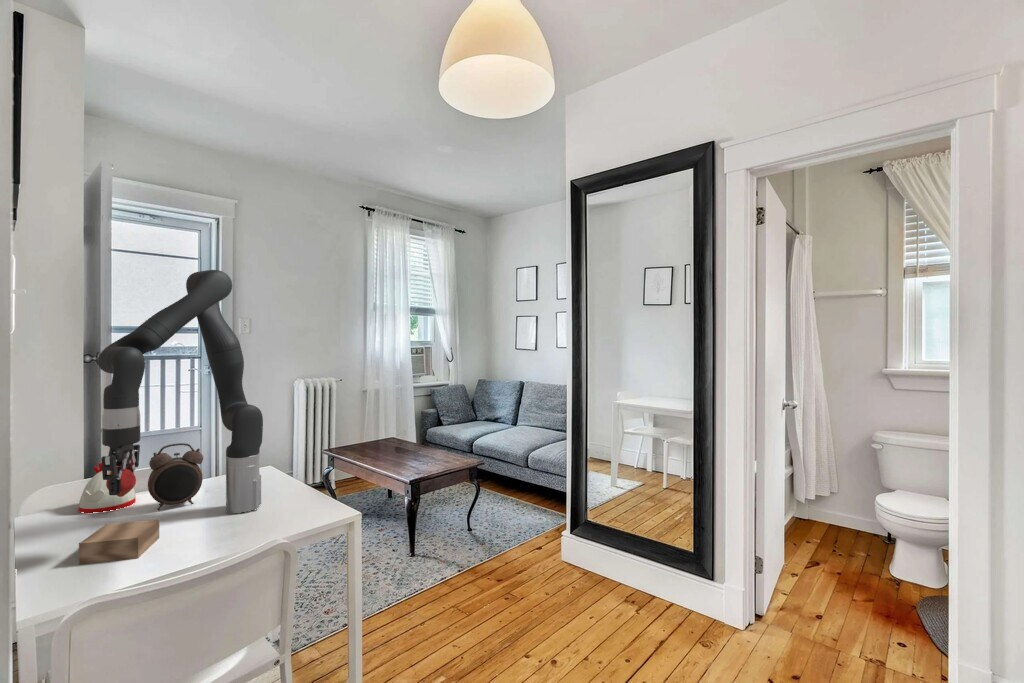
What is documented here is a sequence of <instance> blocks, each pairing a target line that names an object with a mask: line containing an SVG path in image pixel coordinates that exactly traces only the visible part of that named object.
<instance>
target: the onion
mask: <svg viewBox="0 0 1024 683" xmlns="http://www.w3.org/2000/svg"><path fill="white" fill-rule="evenodd" d="M118 467H119V466H118ZM117 472H118V471H117ZM133 472H134V471H133ZM133 472H132V471H130V470H128V469H126V468H125V470H123V471H122V475H121V493H120V494H119V495H117V496H118V497H123V496H124V495H125V494H127V493H128V492H130V491H131V490H132V489H133V488H134V487H135V485H136V483H137V478H136V477H137V476H136V475H135V473H134V474H133ZM106 486H107V489H108V490H109V481H106Z"/></svg>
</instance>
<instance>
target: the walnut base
mask: <svg viewBox="0 0 1024 683" xmlns="http://www.w3.org/2000/svg"><path fill="white" fill-rule="evenodd" d="M159 539H160V519H153V520H152V519H150V520H140V521H139V520H138V521H128V522H116V523H106V524H104V525H103V526H101V527H100V528H99V529H98V530H97V529H96V531H94V532H93V533H92V534H91V535H89V536H88V537H86V538H85V539H84V540H82V541H81V542H79V543H78V564H79V565H85V564H93V563H95V564H96V563H103V562H106V563H107V562H111V561H112V562H113V561H122V560H132V559H139V558H140V557H141V556H142V555H143V554H144V553H146V552H147V551H148V550H149V549H150V548H151V547H152V545H154V544H155V543H156V542H157V541H158V540H159Z"/></svg>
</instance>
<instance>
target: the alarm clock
mask: <svg viewBox="0 0 1024 683" xmlns="http://www.w3.org/2000/svg"><path fill="white" fill-rule="evenodd" d="M176 446H177V447H178V446H184V447H185V446H186V447H188V448H189V449H190V450H188V451H186V452H185V453H184V454H183V455H182V457H180V455H181V454H180V452H175V453H173V456H174V457H172V456H171V455H170V454H168V453H166V452H163V450H164V449H167V448H170V447H176ZM152 455H153V456H152V457H150V460H149V463H148V464H149V468H150V469H151V470H152V471H151V472H150V475H149V476H148V480H147V489H148V492H149V495H150V496H151V497H152V498H153V500H155V502H157V503H159V504H158V505H159V506H158V508H157V511H160V510H161V508H162V507H163V506H164V505H165V506H177V505H181V504H183V503H186V502H189V503H190V505H191V504H193V505H194V503H195V502H193V501H192V498H194V497H195V496H196V495H197V493H198V492H199V491H200V489H201V488H202V485H203V472H202V469H201V467H200V466H199V465H201V464H202V463H203V461H204V456H203V454H202V452H200V448H197V449H196V450H195V449H194V448H193V446H192V445H191V444H190V443H185V442H184V443H183V442H181V443H180V442H179V443H172V444H167V445H164V446H162V447H161V448H160V449H159V450H158V452H153V454H152ZM178 456H179V457H178Z"/></svg>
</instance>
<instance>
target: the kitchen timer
mask: <svg viewBox="0 0 1024 683" xmlns="http://www.w3.org/2000/svg"><path fill="white" fill-rule="evenodd" d="M116 467H118V466H116ZM93 469H94V472H95V473H96V474H95V475H93V476H92V477H91V479H90V480H89V481H87V483H86V484H85V486H84V489H83V491H82V493H81V496H80V498H79V503H78V512H79V511H80V512H84V513H93V512H103V511H110V510H116V509H119V510H121V509H120V508H123V509H125V508H124V507H126V508H128V507H127V506H129V507H131V506H132V504H133V503H134V504H135V503H136V500H137V498H136V491H135V489H134V488H133V489H132V490H131V491H130V492H128V493H127V494H125V495H124V496H123V497H118V496H117V495H109V490H108V489H107V486H106V481H107V480H103V475H102V463H101V462H99V463H98V466H97V465H96V466H94V467H93ZM107 474H108V471H107ZM134 504H133V505H134ZM130 505H131V506H130ZM116 511H117V510H116ZM80 512H79V513H80Z"/></svg>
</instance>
